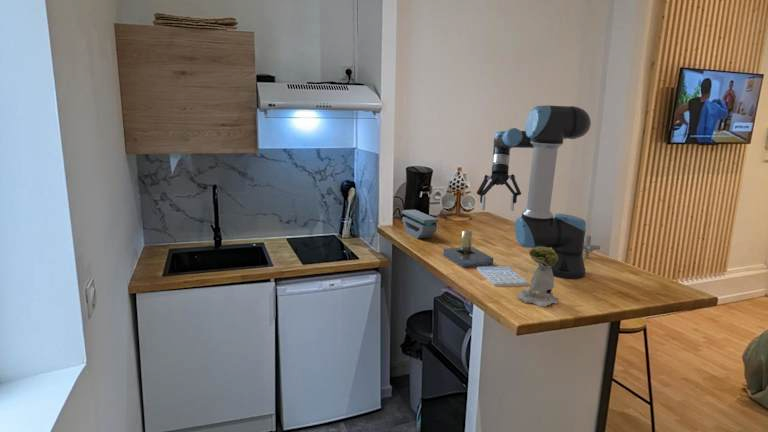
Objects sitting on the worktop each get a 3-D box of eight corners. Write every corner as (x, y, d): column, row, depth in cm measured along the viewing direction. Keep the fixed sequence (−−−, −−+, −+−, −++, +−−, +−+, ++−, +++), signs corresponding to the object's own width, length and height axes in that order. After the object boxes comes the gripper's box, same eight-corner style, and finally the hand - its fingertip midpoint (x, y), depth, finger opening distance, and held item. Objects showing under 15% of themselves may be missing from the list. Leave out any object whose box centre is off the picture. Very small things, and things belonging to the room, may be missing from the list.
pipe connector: (594, 255, 219) (596, 234, 217) (601, 261, 209) (604, 239, 207) (571, 254, 220) (574, 232, 218) (578, 260, 210) (580, 238, 208)
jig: (493, 265, 200) (493, 258, 200) (462, 267, 196) (463, 260, 195) (471, 253, 217) (472, 246, 216) (443, 255, 212) (443, 248, 212)
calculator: (493, 287, 175) (494, 282, 175) (475, 270, 194) (476, 265, 194) (528, 287, 177) (529, 282, 177) (507, 269, 196) (507, 265, 196)
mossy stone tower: (522, 290, 172) (527, 240, 168) (560, 298, 166) (566, 246, 162) (514, 301, 162) (519, 248, 158) (554, 309, 155) (560, 254, 152)
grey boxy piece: (401, 230, 256) (401, 210, 254) (414, 229, 259) (415, 209, 257) (423, 242, 233) (424, 220, 231) (437, 240, 236) (438, 219, 234)
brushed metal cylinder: (472, 259, 207) (474, 232, 204) (463, 260, 205) (464, 233, 203) (467, 256, 211) (469, 230, 208) (458, 257, 209) (459, 230, 207)
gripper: (529, 166, 221) (526, 211, 219) (477, 167, 234) (474, 210, 231) (525, 162, 215) (522, 208, 212) (472, 163, 228) (468, 208, 225)
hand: (497, 210), depth 222 cm, fingers open, 13 cm apart
